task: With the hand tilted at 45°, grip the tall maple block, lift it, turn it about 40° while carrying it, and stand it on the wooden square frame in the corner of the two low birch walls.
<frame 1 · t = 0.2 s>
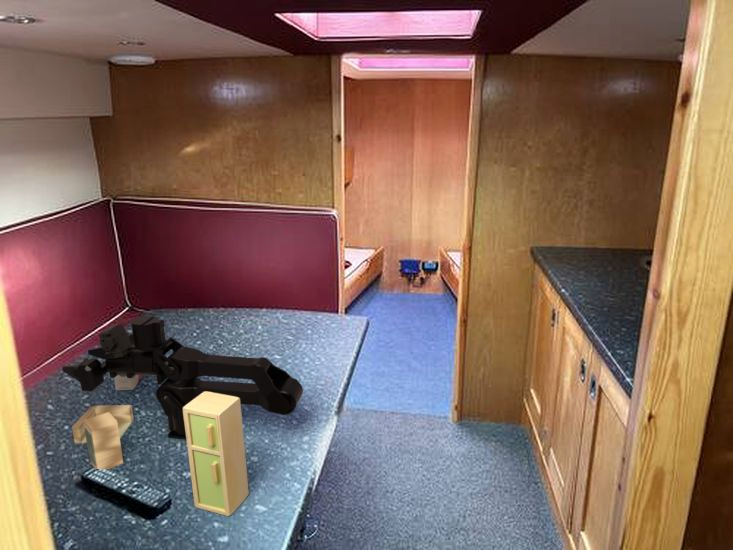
hand: (76, 360, 127), 17 cm above the table, tool horizontal, fingers open, 9 cm apart
ink box: (129, 384, 152), on the table
maple block: (106, 462, 117), on the table
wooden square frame: (107, 432, 128), on the table
toy refrigerator: (220, 503, 105), on the table
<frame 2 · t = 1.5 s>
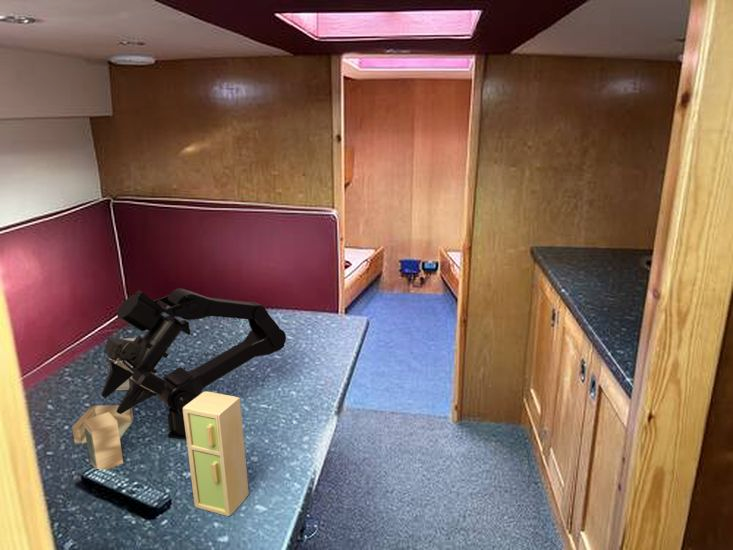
hand: (110, 404, 115), 13 cm above the table, tool tilted 45°, fingers open, 9 cm apart
nothing on the table moved.
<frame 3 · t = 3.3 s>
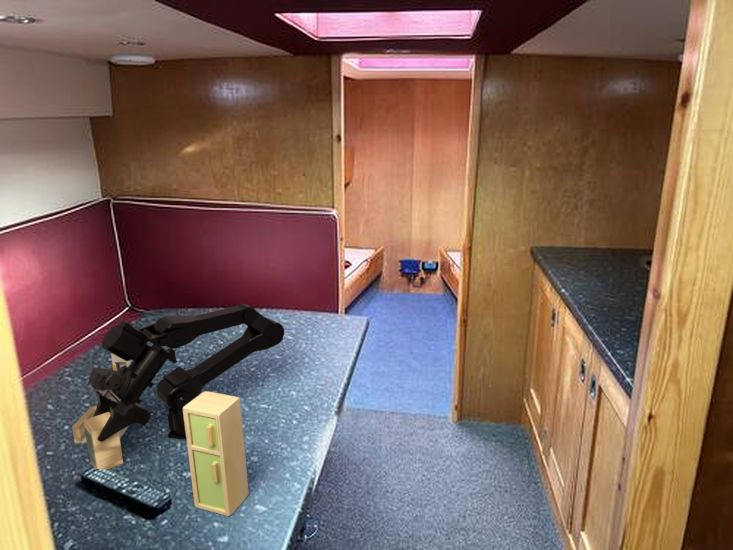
hand: (95, 435, 114), 7 cm above the table, tool tilted 45°, fingers closed on maple block, 5 cm apart
maple block: (106, 462, 117), on the table, touching gripper
everything else where it was.
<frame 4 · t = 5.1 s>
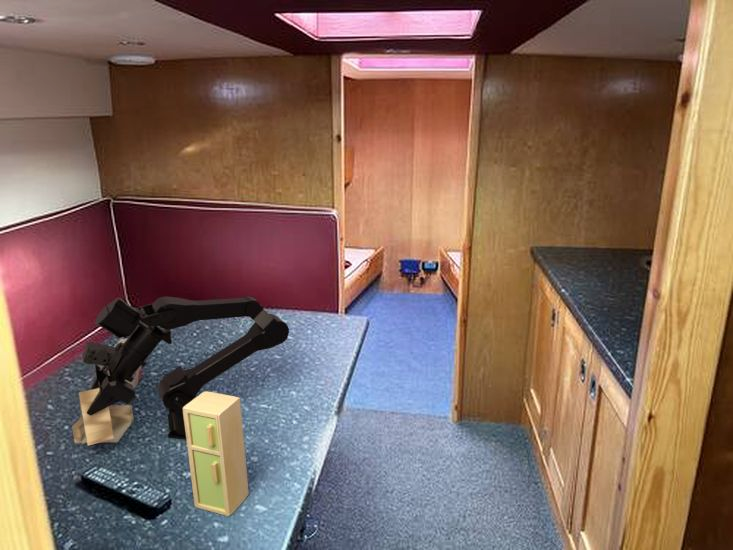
hand: (87, 408, 116), 11 cm above the table, tool tilted 45°, fingers closed on maple block, 5 cm apart
maple block: (99, 436, 119), point 4 cm above the table, touching gripper
everything else where it was.
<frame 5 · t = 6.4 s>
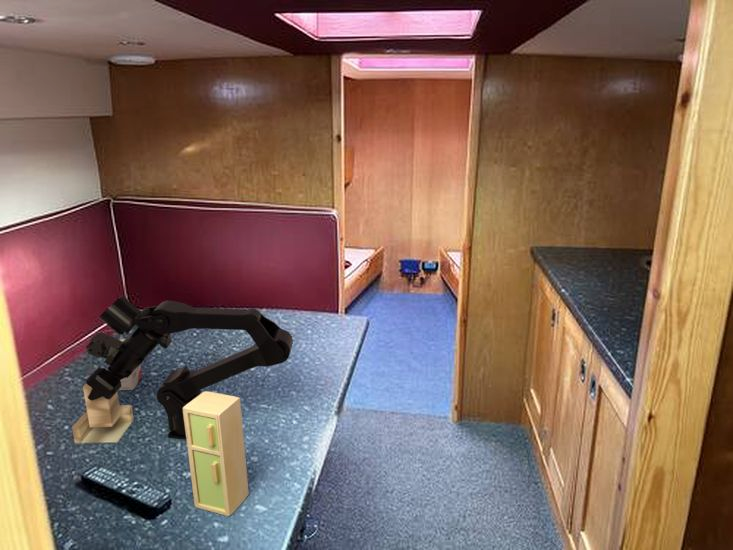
hand: (95, 393, 125), 10 cm above the table, tool tilted 45°, fingers closed on maple block, 5 cm apart
maple block: (105, 421, 127), point 3 cm above the table, touching gripper
everything else where it was.
when the fingers open (9 cm above the table, at t = 7.1 s): maple block drops 1 cm, resting on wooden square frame.
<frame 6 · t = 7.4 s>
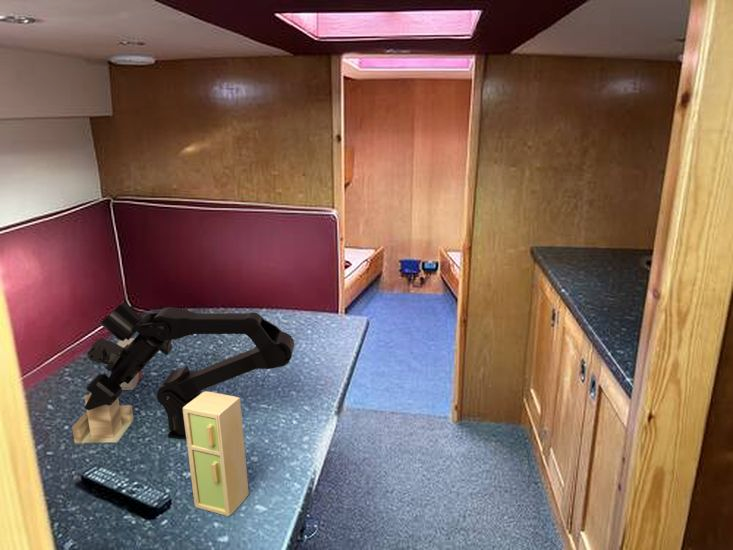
hand: (95, 398, 126), 9 cm above the table, tool tilted 45°, fingers open, 9 cm apart
maple block: (107, 432, 128), resting on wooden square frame
everything else where it was.
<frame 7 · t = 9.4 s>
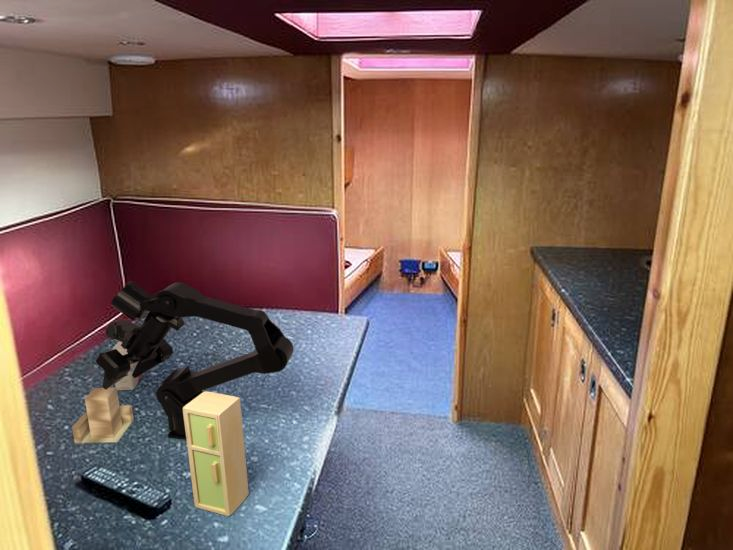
hand: (119, 382, 126), 12 cm above the table, tool tilted 35°, fingers open, 9 cm apart
nothing on the table moved.
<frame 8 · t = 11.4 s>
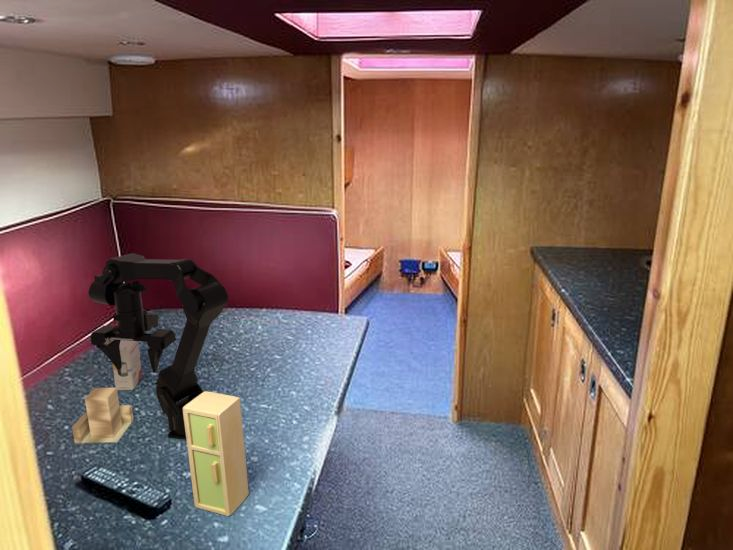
hand: (137, 370, 132), 12 cm above the table, tool pointing down, fingers open, 9 cm apart
nothing on the table moved.
at the end: maple block 0.0 cm off-centre on the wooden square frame, point 0.2 cm above the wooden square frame's base; maple block tilted 0°; the gripper is holding nothing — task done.
